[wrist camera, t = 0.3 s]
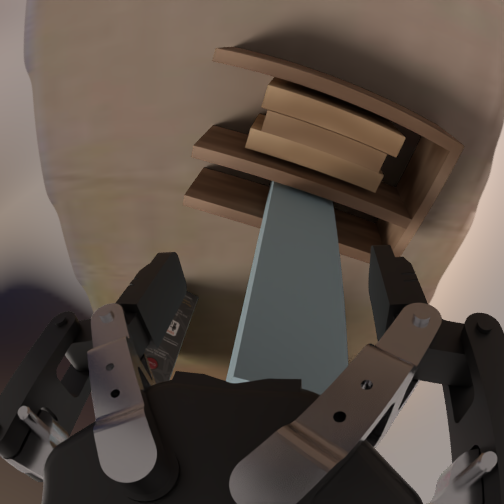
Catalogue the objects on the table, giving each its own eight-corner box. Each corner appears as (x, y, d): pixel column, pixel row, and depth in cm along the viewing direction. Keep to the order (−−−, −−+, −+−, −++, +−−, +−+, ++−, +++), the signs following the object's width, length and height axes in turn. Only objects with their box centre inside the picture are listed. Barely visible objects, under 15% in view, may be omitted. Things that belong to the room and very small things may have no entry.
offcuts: (271, 74, 28) (262, 83, 22) (387, 117, 29) (410, 140, 22) (254, 130, 32) (241, 155, 26) (365, 168, 33) (379, 202, 27)
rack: (233, 46, 27) (215, 48, 21) (437, 125, 28) (464, 146, 22) (202, 176, 36) (182, 205, 31) (379, 234, 38) (390, 270, 32)
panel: (278, 159, 34) (233, 376, 14) (328, 176, 34) (349, 400, 14) (270, 182, 36) (221, 399, 16) (319, 198, 36) (323, 420, 16)
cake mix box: (165, 279, 48) (88, 457, 25) (198, 297, 50) (137, 478, 27) (134, 337, 61) (82, 463, 38) (159, 350, 63) (113, 477, 39)
